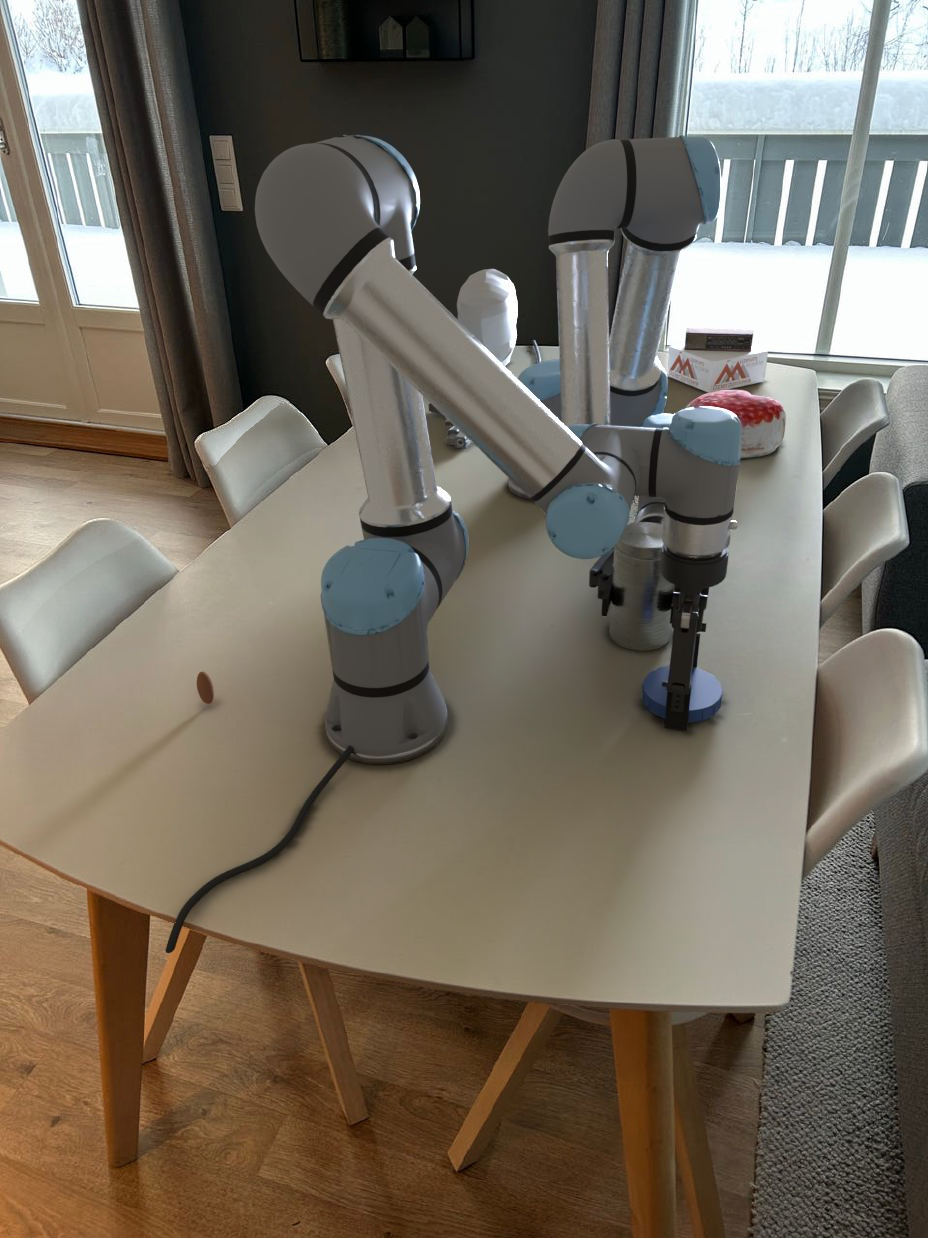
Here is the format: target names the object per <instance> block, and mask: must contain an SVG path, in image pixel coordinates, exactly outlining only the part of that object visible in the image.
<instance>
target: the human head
mask: <svg viewBox="0 0 928 1238" xmlns="http://www.w3.org/2000/svg"><path fill="white" fill-rule="evenodd" d="M456 310H457V320H458V321H459V322H460V323H461V324H462V325H463V326H465V327H466V328H467V329H468V330H469V331H470V332H471V333H472V334H473V335H474V336H475V337H476V338H477V339H478V340H479V341H480V342H481V343H482V344H483V345H484V346H485V347H486V348H487V349H488V350H489V351H490V352H491V353H492V354H493V355H494V356H495V357H496V358H497V359H498V360H499V361H500V362H501V363H502V364H503V365H504V366H505V367H506V365H508V364H509V363H510V362H511V356H512V354H513V351H514V348H515V346H516V343H517V342H516V341H517V336H518V334H517V319H518V299H517V294H516V288H515V285H514V283H513V282H512V281H511V279H510V278H509V276H508V275H507V274H505V273H503V272H501V271H500V270H497V269H495V268H488V269H487V268H486V269H482V270H479V271H477V272H475V273H473V274H471V275H469V276H468V277H467V279H466V280H465V282H464V283H463V284H462V286H461V287H460V290H459V293H458V295H457V301H456Z"/></svg>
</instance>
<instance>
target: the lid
mask: <svg viewBox="0 0 928 1238" xmlns="http://www.w3.org/2000/svg"><path fill="white" fill-rule="evenodd" d="M669 668H670V665H665V666H661V667H657V668H655V669H653V670H652V671H650V672H649V673H648V674H647V675H646V676H645V677H644V679H643V682H642V689H641V695H642V697H641V698H642V702H643V704H644V705H645V707H646V708H647V709H648V710H649V711H650V712H651V713H652V714H654V715H655V716H658V717H660V718H662V719H664V720H665V713H666V701H667V688H666V687H663V686H662V681H666V682H668V677H669ZM691 683H692V687H691V697H690V707H689V717H688V723H698V722H702V721H705V720H707V719H710V718H712V717H713V716H715V715H716V714H717V713H718V712H719V710H720V709H721V706H722V700H723V699H722V697H723V687H722V684H721V683H720V681H719V680H718V679H717V678H716V677H715V676H714V675H713V674H712V673H709V672H708V671H706V670H704V669H702V668H698V667H697V668H695V667H692V674H691Z"/></svg>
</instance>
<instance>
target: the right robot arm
mask: <svg viewBox="0 0 928 1238" xmlns="http://www.w3.org/2000/svg"><path fill="white" fill-rule="evenodd" d="M721 173H722V172H721V165H720V160H719V156H718V152H717V150H716V147H715V146H714V144H713V142H712V141H711V140H710V139H709V138H707V137H705V136H701V135H700V136H697V135H696V136H685V135H683V134H680V135H679V136H671V137H652V138H651V137H650V138H647V137H646V138H627V139H619V138H615V139H607V140H604V141H600V142H598V143H596V144H593V145H592V146H590V147H588V148H586V150H584V151H583V152H582V153H581V154H580V155H579V156H578V157H577V158H576V159H575V160H574V162H573V163H572V164H571V165H570V167H568V169H567V171H566V173H565V174H564V175H563V178H562V179H561V181H560V183H559V185H558V187H557V189H556V193H555V196H554V198H553V200H552V205H551V208H550V214H549V217H548V228H547V235H548V249H549V251H550V252H551V253H552V254H554V256H555V268H556V295H557V296H556V297H557V300H556V301H557V319H558V320H557V326H558V327H557V328H558V355H559V357H558V358H554V359H549V360H548V359H547V360H543V361H542V359H541V353H540V350H539V346H538V344H537V342H536V340H535V339H533V340H532V345H533V347H534V350H535V351H534V352H535V353H536V359H537V363H534V364H532V365H530V366H527V367H526V368H525V369H523V370H522V371H521V372H520V374H519V376H518V378H517V379H518V380H519V381H520V382H521V383H522V384H523V385H524V386H525V387H526V388H527V389H528V390H529V391H530V392H531V393H532V394H533V395H534V396H535V397H536V398H537V399H538V400H539V401H540V402H541V403H542V404H543V405H544V406H545V407H546V408H547V409H548V410H549V411H550V412H551V413H552V414H553V415H554V416H555V417H556V418H557V419H558V420H559V421H560V422H562V423H563V424H564V425H565V426H566V427H568V426H570V425H588V424H594V423H597V424H601V425H611V426H627V427H643V428H661V429H663V428H669V426H670V424H671V420H672V417H673V416H674V414H675V413H674V414H672V413H664V412H665V409H666V406H667V401H668V397H667V393H668V391H669V385H668V384H669V381H668V376H667V371H666V370H665V368H664V367H663V365H662V364H661V361H660V360H659V358H658V351H659V348H660V343H661V339H662V335H663V332H664V328H665V324H666V319H667V316H668V311H669V307H670V303H671V299H672V294H673V291H674V287H675V283H676V277H677V275H678V270H679V266H680V263H681V258H682V255H683V250H685V249H687V248H689V247H690V246H691V245H692V244H693V243H694V242H695V241H696V239H697V235H698V231H699V228H700V225H701V224H702V225H705V226H707V225H708V224H710V223H713V222H714V221H715V220H716V219H717V218H718V215H719V212H720V208H721V202H722V175H721ZM615 229H620V231H621V234H622V236H623V238H624V239H625V240H626V241H627V243H626V249H625V254H624V260H623V265H622V270H621V274H620V275H621V276H620V280H619V281H620V282H619V287H618V292H617V297H616V302H615V308H614V313H613V319H612V324H611V329H610V315H609V312H610V311H609V309H610V308H609V306H610V305H609V259H608V257H609V256H608V254H609V251H610V250H611V249H612V247H613V246H614V245H615ZM507 478H508V490H509V491H510V492H511V493H512V494H514V495H515V496H517V497H519V498H522V499H525V500H528V501H529V500H531V499H530V498H529V497H528V496H527V495H526V494H525V493H524V492H523V491H522V490H521V489H520V488H519V487H518V486H517V485H516V484H515V483H514V482H513V481H512V480H511V479H510V478H509V477H507ZM531 501H532V500H531ZM665 502H666V500H665V497H647V496H638V501H637V509H636V515H635V518H634V521H633V523H638V522H651V523H658V524H662V525H663V518H664V508H665ZM613 559H614V547H613V548H612V550H611V551H609V552H607V553H606V554H604V555H602V556H600V557H598V559H597V561H596V562H595V563H594V564H593V565H592V567H591V568H589V576H588V587H590V588H597V594H596V595H597V599H598V600H601V617H606V618H607V617H608V615H609V614H608V613H609V610H610V608H611V597H612V578H613ZM674 592H675V587H674ZM672 616H673V605H672V606H671V616H670V624H672Z"/></svg>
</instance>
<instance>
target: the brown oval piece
mask: <svg viewBox="0 0 928 1238" xmlns="http://www.w3.org/2000/svg"><path fill="white" fill-rule="evenodd" d="M196 689H197V694H198V695H199V698H200V700H201V701H202V702H203V703H204V704H206V705H210V704H211V703H212V702H213V701H214V699H215V688H214V683H213V680H212V679H211V677H210V675H209V674H208V673H207V672H206V671H200V672H199V673H198V674H197V677H196Z"/></svg>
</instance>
